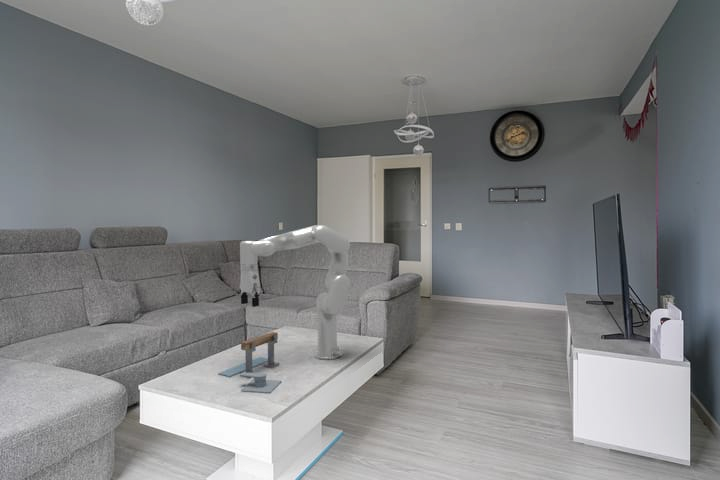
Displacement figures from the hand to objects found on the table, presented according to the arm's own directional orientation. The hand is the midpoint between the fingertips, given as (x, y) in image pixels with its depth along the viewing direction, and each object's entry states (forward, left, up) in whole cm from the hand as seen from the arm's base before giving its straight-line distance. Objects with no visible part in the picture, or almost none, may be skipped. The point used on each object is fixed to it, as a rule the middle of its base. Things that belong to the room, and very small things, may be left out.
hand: (249, 304), depth 191 cm
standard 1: (-7, +8, -29) cm, 31 cm away
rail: (-7, +1, -17) cm, 18 cm away
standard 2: (-7, -6, -29) cm, 30 cm away
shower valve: (-19, +15, -30) cm, 38 cm away
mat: (+2, +1, -29) cm, 29 cm away
